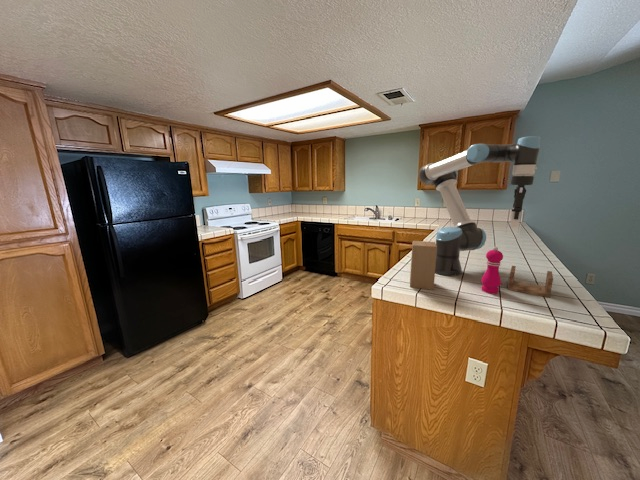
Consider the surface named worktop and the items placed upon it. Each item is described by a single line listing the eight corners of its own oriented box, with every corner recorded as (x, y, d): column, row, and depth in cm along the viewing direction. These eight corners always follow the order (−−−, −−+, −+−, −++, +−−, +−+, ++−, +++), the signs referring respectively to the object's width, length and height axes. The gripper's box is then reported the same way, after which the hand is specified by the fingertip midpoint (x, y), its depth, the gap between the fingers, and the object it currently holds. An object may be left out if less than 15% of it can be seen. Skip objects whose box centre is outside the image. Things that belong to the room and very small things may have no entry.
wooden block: (431, 282, 123) (435, 241, 119) (433, 290, 114) (437, 246, 110) (410, 279, 127) (412, 240, 122) (409, 287, 117) (412, 245, 113)
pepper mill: (502, 294, 108) (509, 249, 104) (484, 293, 110) (490, 248, 105) (495, 288, 115) (501, 245, 111) (477, 287, 117) (482, 244, 112)
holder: (507, 289, 114) (510, 271, 112) (509, 281, 122) (512, 265, 120) (549, 297, 105) (553, 278, 103) (548, 289, 113) (551, 271, 111)
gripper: (536, 175, 97) (526, 230, 102) (532, 175, 117) (523, 221, 122) (512, 175, 101) (503, 228, 106) (511, 175, 121) (504, 219, 126)
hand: (514, 224), depth 114 cm, fingers open, 13 cm apart
